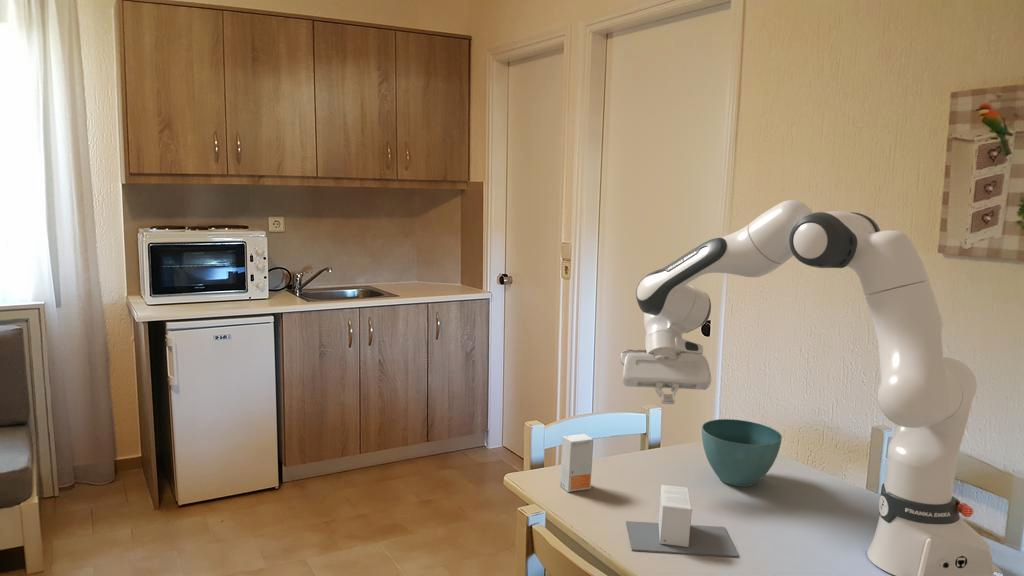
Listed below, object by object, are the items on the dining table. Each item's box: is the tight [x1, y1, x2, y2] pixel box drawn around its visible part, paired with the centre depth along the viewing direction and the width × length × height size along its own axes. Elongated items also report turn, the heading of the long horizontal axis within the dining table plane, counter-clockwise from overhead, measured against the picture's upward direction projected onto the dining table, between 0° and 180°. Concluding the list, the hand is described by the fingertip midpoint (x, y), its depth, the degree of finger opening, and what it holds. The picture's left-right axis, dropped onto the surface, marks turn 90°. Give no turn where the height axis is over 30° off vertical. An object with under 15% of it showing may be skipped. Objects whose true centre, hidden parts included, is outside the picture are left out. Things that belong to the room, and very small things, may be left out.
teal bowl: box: [701, 418, 783, 488], centre depth 175 cm, size 18×18×12 cm
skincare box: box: [559, 433, 594, 493], centre depth 167 cm, size 6×4×12 cm
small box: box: [658, 484, 693, 547], centre depth 146 cm, size 8×6×10 cm
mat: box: [625, 520, 739, 558], centre depth 145 cm, size 20×12×1 cm, turn 87°
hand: (667, 403), depth 167 cm, fingers closed
